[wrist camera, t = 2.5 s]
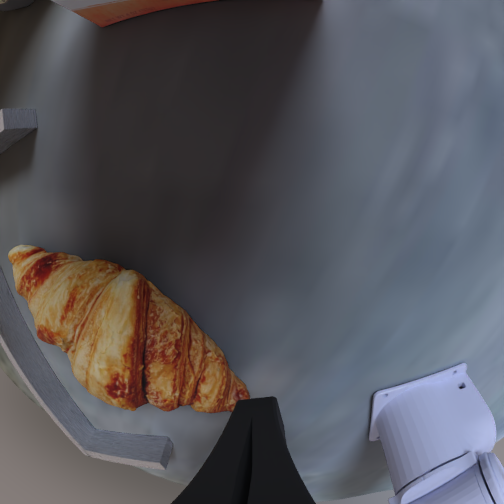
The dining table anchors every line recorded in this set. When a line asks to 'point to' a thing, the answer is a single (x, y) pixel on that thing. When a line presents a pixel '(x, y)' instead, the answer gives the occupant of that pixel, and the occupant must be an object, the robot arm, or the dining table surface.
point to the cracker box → (119, 8)
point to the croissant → (123, 334)
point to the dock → (40, 373)
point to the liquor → (14, 4)
